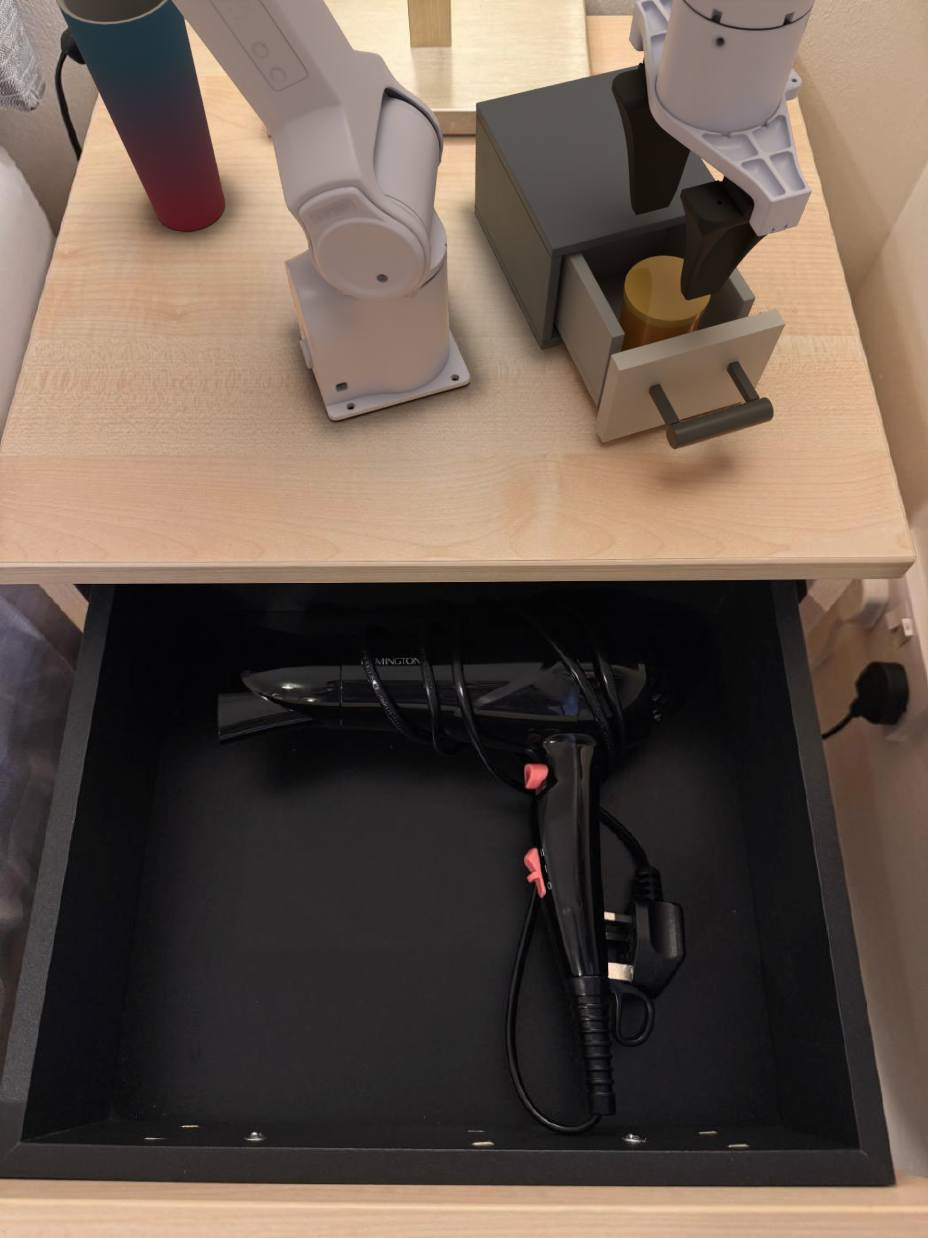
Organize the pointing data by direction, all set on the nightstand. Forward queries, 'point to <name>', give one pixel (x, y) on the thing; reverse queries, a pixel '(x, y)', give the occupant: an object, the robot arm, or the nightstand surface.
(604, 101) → the cabinet
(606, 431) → the drawer
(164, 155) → the cup
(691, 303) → the jar
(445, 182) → the nightstand surface
